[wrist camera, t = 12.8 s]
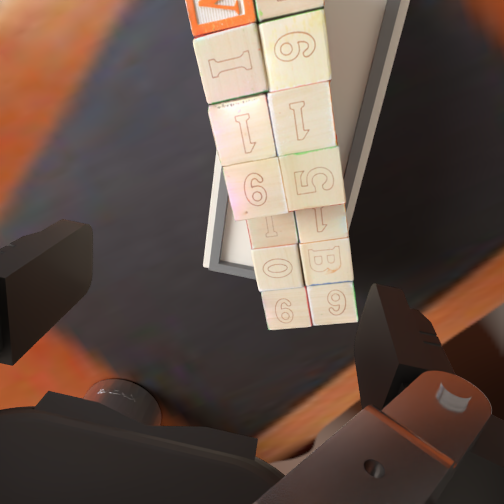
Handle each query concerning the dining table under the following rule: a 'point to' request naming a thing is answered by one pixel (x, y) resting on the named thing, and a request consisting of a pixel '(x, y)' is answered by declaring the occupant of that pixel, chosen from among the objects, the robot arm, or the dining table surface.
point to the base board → (344, 109)
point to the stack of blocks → (279, 151)
